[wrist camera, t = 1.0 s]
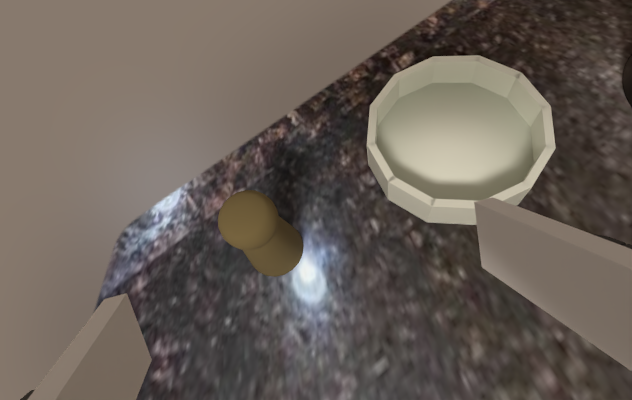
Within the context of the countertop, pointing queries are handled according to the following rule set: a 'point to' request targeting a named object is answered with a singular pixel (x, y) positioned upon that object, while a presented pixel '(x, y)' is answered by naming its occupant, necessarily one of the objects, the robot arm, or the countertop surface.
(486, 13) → the countertop surface
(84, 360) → the robot arm
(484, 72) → the bowl
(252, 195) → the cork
